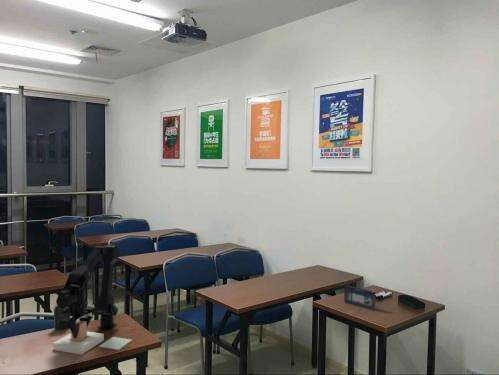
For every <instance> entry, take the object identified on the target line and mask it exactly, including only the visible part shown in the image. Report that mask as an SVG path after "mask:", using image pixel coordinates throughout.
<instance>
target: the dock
mask: <svg viewBox="0 0 499 375" xmlns="http://www.w3.org/2000/svg"><path fill="white" fill-rule="evenodd" d="M104 339H105V334H104V333H99V332H95V331H94V332H93V331H88V330H87V338H86V339H85V340H83V341H81V342H75V341H71V332H70V333H69V334H66V335H65V336H63V337H61V338H60V339H58V340H56V341H54V342H52V345H53V346H52V350H53V351H59V352H65V353H70V354H74V355H75V354H77V355H83V354H85V353H86V352H88V351H89V350H91V349H93V348H94V347H96V346H97V345H99V344H100V343H102V342H105V340H104Z"/></svg>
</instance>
